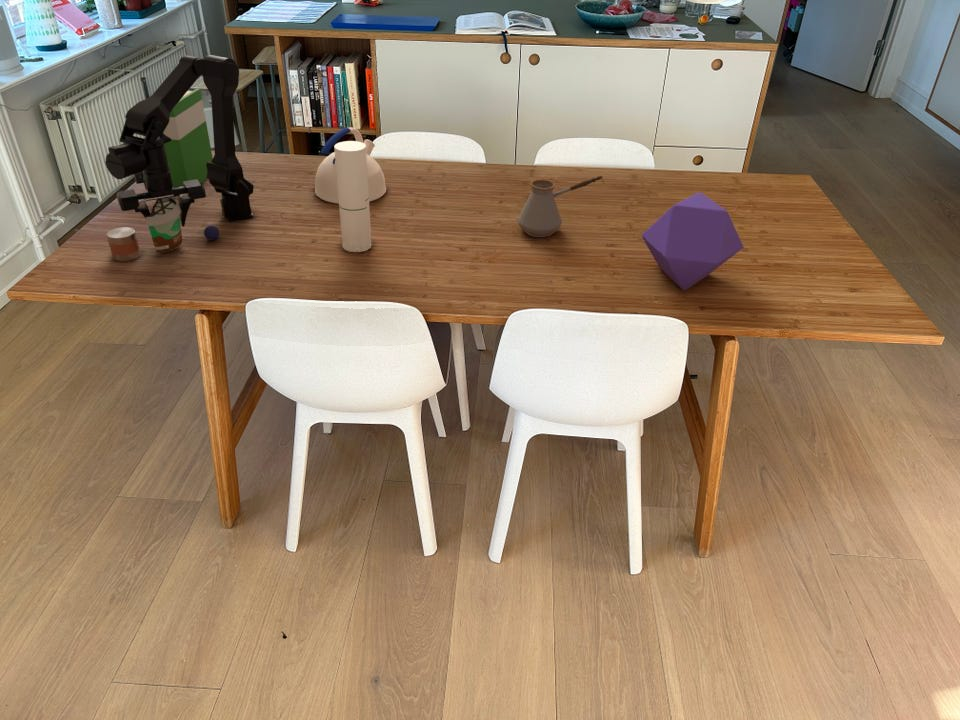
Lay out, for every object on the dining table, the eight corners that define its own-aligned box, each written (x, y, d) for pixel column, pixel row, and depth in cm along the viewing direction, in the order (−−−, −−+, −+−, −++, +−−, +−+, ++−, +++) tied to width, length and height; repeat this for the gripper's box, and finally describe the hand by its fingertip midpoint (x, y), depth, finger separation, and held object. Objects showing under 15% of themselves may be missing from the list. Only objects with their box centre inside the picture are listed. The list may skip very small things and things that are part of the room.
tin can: (138, 248, 179) (132, 225, 176) (142, 258, 175) (136, 234, 172) (111, 253, 177) (104, 229, 173) (114, 263, 172) (108, 240, 169)
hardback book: (191, 169, 223) (174, 87, 210) (214, 170, 223) (200, 88, 209) (164, 191, 209) (145, 104, 195) (189, 192, 208) (172, 105, 195)
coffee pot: (519, 240, 189) (523, 184, 180) (514, 221, 198) (518, 167, 190) (602, 240, 191) (609, 184, 182) (593, 221, 200) (600, 167, 192)
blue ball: (218, 235, 186) (216, 222, 184) (222, 241, 184) (219, 227, 182) (203, 238, 185) (201, 224, 183) (207, 243, 182) (204, 230, 180)
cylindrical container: (376, 242, 186) (371, 143, 172) (363, 254, 180) (357, 152, 166) (350, 237, 188) (343, 139, 173) (337, 249, 182) (328, 148, 168)
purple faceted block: (724, 312, 169) (775, 235, 161) (659, 291, 161) (710, 208, 152) (676, 267, 187) (720, 196, 179) (615, 246, 178) (658, 170, 170)
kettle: (401, 188, 216) (399, 125, 206) (354, 211, 201) (350, 145, 191) (347, 172, 225) (343, 112, 214) (299, 193, 210) (292, 130, 200)
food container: (182, 255, 175) (173, 218, 168) (155, 256, 174) (145, 218, 167) (192, 228, 184) (184, 192, 177) (166, 228, 183) (157, 191, 177)
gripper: (189, 148, 178) (201, 209, 187) (105, 160, 171) (122, 223, 179) (200, 163, 171) (212, 226, 179) (112, 176, 163) (130, 241, 172)
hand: (169, 228), depth 178 cm, fingers closed on food container, 6 cm apart
